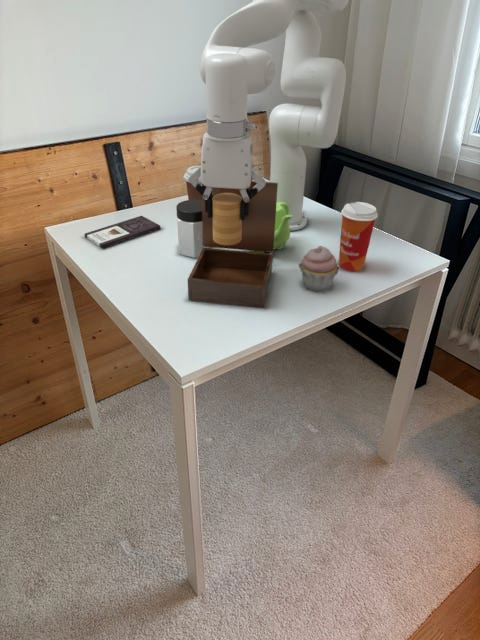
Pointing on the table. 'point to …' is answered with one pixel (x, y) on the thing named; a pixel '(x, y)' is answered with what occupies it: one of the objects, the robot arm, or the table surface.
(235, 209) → the cookie stack
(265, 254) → the chest
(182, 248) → the jar
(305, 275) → the cupcake
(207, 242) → the lid
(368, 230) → the coffee cup
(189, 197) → the coffee cup
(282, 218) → the teapot
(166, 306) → the table surface
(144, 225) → the chocolate bar
